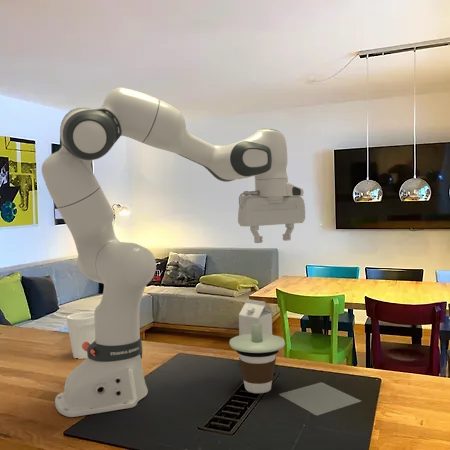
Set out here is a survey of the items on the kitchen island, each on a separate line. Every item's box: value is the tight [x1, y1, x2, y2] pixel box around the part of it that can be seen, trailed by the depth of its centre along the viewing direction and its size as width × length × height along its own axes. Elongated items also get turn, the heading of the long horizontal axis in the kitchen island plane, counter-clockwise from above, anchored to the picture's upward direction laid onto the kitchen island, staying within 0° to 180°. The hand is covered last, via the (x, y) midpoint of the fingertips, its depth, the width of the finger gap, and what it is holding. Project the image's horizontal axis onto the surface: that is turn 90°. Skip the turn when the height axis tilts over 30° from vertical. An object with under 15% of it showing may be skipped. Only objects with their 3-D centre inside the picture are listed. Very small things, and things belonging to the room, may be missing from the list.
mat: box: [278, 381, 362, 417], centre depth 114 cm, size 14×14×1 cm
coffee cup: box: [235, 349, 280, 394], centre depth 120 cm, size 11×11×12 cm
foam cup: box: [66, 311, 95, 360], centre depth 151 cm, size 10×9×13 cm
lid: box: [229, 323, 286, 353], centre depth 120 cm, size 14×14×5 cm
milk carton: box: [238, 298, 273, 336], centre depth 140 cm, size 7×7×19 cm
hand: (272, 241), depth 127 cm, fingers open, 8 cm apart
